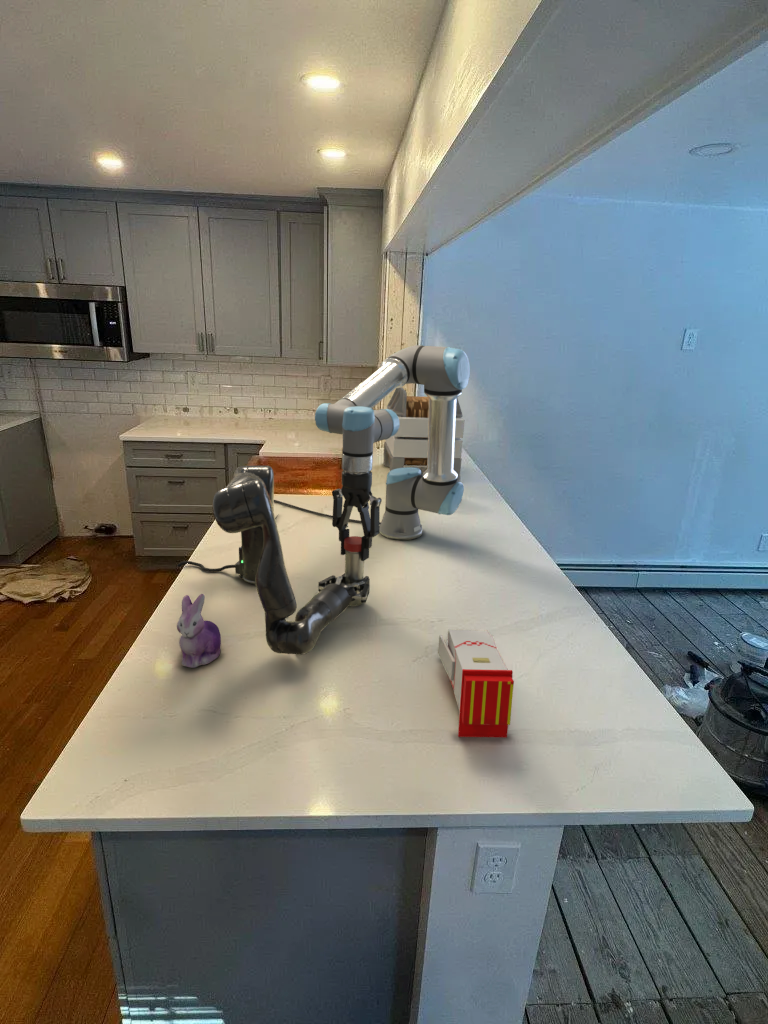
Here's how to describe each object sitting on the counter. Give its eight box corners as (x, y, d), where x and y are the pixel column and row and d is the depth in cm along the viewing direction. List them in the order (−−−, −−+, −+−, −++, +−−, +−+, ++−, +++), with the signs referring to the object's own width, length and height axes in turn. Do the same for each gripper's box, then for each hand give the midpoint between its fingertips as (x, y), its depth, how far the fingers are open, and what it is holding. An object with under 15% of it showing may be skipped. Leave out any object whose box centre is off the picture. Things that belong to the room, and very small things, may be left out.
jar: (348, 607, 150) (349, 548, 144) (341, 599, 154) (342, 541, 148) (365, 604, 152) (367, 545, 146) (358, 596, 156) (360, 538, 150)
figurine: (183, 674, 120) (177, 612, 115) (175, 649, 128) (169, 590, 123) (228, 663, 124) (224, 603, 119) (218, 640, 132) (214, 582, 127)
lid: (343, 543, 150) (343, 536, 149) (365, 543, 150) (365, 536, 149) (344, 552, 144) (344, 544, 144) (366, 552, 145) (367, 544, 144)
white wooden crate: (382, 463, 289) (386, 382, 275) (445, 464, 293) (451, 384, 279) (390, 482, 257) (394, 392, 243) (460, 483, 261) (468, 394, 247)
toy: (488, 613, 130) (523, 677, 101) (484, 667, 133) (517, 744, 104) (435, 612, 130) (455, 676, 101) (432, 666, 133) (451, 743, 103)
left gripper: (354, 597, 134) (383, 570, 149) (302, 584, 139) (335, 559, 154) (353, 625, 137) (382, 595, 152) (302, 611, 142) (334, 583, 157)
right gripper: (397, 473, 139) (392, 560, 147) (335, 461, 148) (334, 543, 155) (381, 480, 133) (377, 570, 141) (317, 467, 141) (317, 552, 149)
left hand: (358, 577), depth 153 cm, fingers closed on jar, 5 cm apart
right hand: (354, 556), depth 148 cm, fingers closed on lid, 6 cm apart
